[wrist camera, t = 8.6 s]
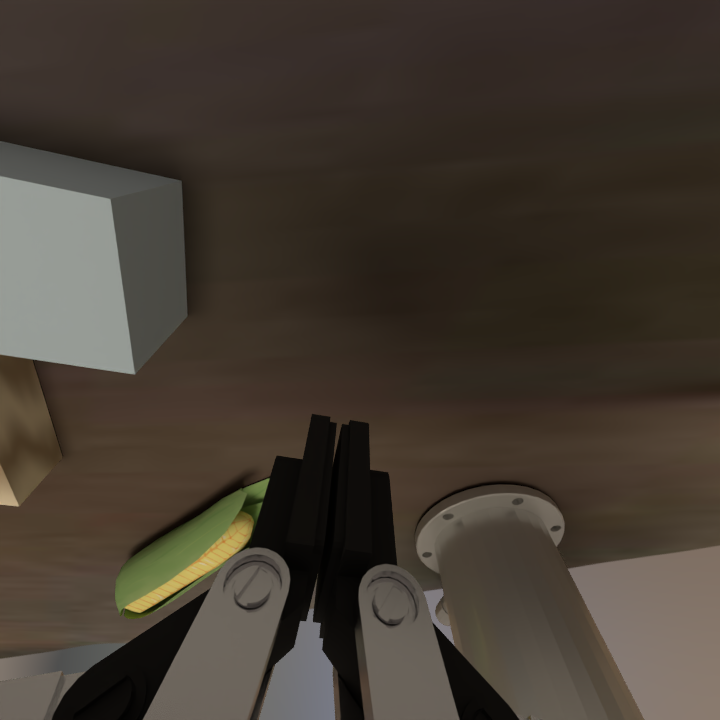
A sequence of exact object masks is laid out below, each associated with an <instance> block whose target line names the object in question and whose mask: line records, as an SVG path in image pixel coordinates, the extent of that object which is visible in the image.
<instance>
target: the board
mask: <svg viewBox="0 0 720 720" xmlns="http://www.w3.org/2000/svg"><path fill="white" fill-rule="evenodd" d="M62 458H63V456H62V453H61V450H60V447H59V443H58V440H57V437H56V434H55V431H54V427H53V424H52V421H51V418H50V415H49V411H48V408H47V405H46V402H45V399H44V395H43V392H42V389H41V386H40V382H39V379H38V376H37V373H36V370H35V366H34V363H33V360H32V359H27V358H20V357H14V356H7V355H0V504H1V505H11V506H20V505H21V504H22V503H23V501H24V500H25V499H26V498H27V497H28V496H29V495H30V494H31V493H32V491H33V490H34V489H35V488H36V487H37V486H38V485H39V484H40V482H41V481H42V480H43V479H44V478H45V477H46V476H47V475H48V473H49V472H50V471H51V470H52V469H53V468H54V467H55V466H56V464H57V463H58V462H59V461H60V460H61V459H62Z"/></svg>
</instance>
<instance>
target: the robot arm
mask: <svg viewBox="0 0 720 720" xmlns="http://www.w3.org/2000/svg"><path fill="white" fill-rule="evenodd" d="M336 426H337V423H333V422H330V417H327V416H321V415H315V414H312V417H311V422H310V427H309V432H308V437H307V442H306V447H305V451H304V456H303V460H302V459H296V458H289V457H283V456H277V457H276V459H275V462H274V466H273V469H272V472H271V476H270V479H269V482H268V486H267V489H266V493H265V496H264V499H263V503H262V506H261V509H260V513H259V516H258V519H257V523H256V526H255V530H254V533H253V536H252V540H251V543H250V546H249V549H245V550H243V551H241V552H239V553H237V554H235V555H234V556H233V557H231V558H230V559H229V560H228V561H227V562H226V563H225V564H224V566H223V567H222V568H221V570H220V571H219V573H218V575H217V577H216V579H215V581H214V583H213V585H212V587H211V588H210V589H209V590H207V591H206V592H204V593H203V594H201V595H200V596H198V597H197V598H195V599H194V600H192V601H190V602H189V603H187V604H186V605H184V606H183V607H181V608H180V609H178V610H177V611H175V612H174V613H172V614H171V615H169V616H168V617H166V618H165V619H163V620H162V621H160V622H159V623H157V624H156V625H154V626H153V627H151V628H150V629H148V630H147V631H145V632H144V633H142V634H141V635H139V636H138V637H136V638H134V639H133V640H131V641H130V642H128V643H127V644H125V645H124V646H122V647H121V648H119V649H118V650H116V651H115V652H113V653H112V654H110V655H109V656H107V657H106V658H104V659H103V660H101V661H100V662H98V663H97V664H95V665H94V666H92V667H91V668H90V669H89V670H88V671H86V672H80V673H75V674H69V675H64V674H63V672H62V671H59V672H53V673H47V674H41V675H35V676H30V677H24V678H17V679H12V680H6V681H0V720H259V717H260V713H261V710H262V706H263V703H264V700H265V697H266V693H267V690H268V686H269V683H270V680H271V677H272V673H273V670H274V667H275V664H276V663H277V662H278V661H279V660H280V659H281V658H282V657H284V656H285V655H286V654H287V653H288V652H289V651H290V650H291V649H292V648H293V647H294V645H295V640H296V636H297V632H298V627H299V623H300V621H306V619H307V615H308V611H309V607H310V603H311V599H312V595H313V591H314V587H315V582H316V578H317V586H316V595H315V605H314V614H313V622H317V623H321V626H320V638H323V648H322V650H323V652H324V653H325V654H326V656H327V657H328V659H329V660H330V661H331V663H332V665H333V687H334V704H335V720H644V718H643V716H642V714H641V712H640V710H639V708H638V706H637V704H636V702H635V700H634V699H633V696H632V694H631V692H630V690H629V689H628V687H627V685H626V683H625V681H624V679H623V677H622V675H621V673H620V671H619V669H618V667H617V665H616V663H615V661H614V659H613V657H612V655H611V653H610V651H609V649H608V648H607V645H606V643H605V641H604V639H603V638H602V636H601V634H600V632H599V630H598V628H597V626H596V624H595V622H594V620H593V618H592V616H591V614H590V612H589V610H588V608H587V606H586V604H585V602H584V600H583V598H582V596H581V594H580V592H579V590H578V588H577V586H576V585H575V583H574V581H573V579H572V577H571V575H570V573H569V571H568V569H567V567H566V565H565V563H564V561H563V559H562V557H561V555H560V553H559V551H558V549H557V545H558V544H559V543H560V541H561V539H562V536H563V534H564V530H565V522H564V519H563V516H562V514H561V512H560V510H559V509H558V507H557V505H556V504H555V502H554V501H553V500H552V499H551V498H550V497H549V496H547V495H545V494H543V493H542V492H540V491H538V490H535V489H532V488H529V487H524V486H518V485H506V484H497V485H487V486H481V487H476V488H472V489H468V490H465V491H462V492H460V493H457V494H454V495H452V496H450V497H448V498H446V499H444V500H442V501H441V502H440V503H438V504H437V505H435V506H434V507H433V508H431V509H430V510H429V511H428V512H427V513H426V514H425V515H424V516H423V518H422V519H421V521H420V522H419V524H418V526H417V529H416V532H415V544H416V549H417V554H418V556H419V558H420V560H421V561H422V562H423V563H424V564H425V565H426V566H427V567H428V568H430V569H431V570H433V571H435V572H436V573H439V574H440V578H441V583H442V587H443V592H444V596H443V597H442V599H441V600H440V601H439V603H438V605H437V606H436V610H435V613H436V617H437V618H438V620H439V622H441V623H442V624H443V625H446V626H450V625H451V630H452V634H453V640H454V644H455V646H454V645H453V644H452V643H451V642H450V641H449V640H448V639H447V638H446V636H445V635H444V634H443V633H442V632H441V631H440V630H439V629H438V628H437V627H436V626H435V625H434V624H433V622H432V620H431V616H430V612H429V609H428V605H427V602H426V598H425V595H424V593H423V590H422V588H421V586H420V584H419V583H418V582H417V580H416V579H415V578H414V577H413V576H412V575H411V574H410V573H409V572H407V571H406V570H405V569H403V568H400V567H398V566H397V559H396V548H395V536H394V525H393V513H392V502H391V490H390V479H389V474H388V472H381V471H375V470H370V451H369V424H368V423H364V422H358V421H352V420H350V422H349V425H345V424H342V427H341V431H340V436H339V440H338V444H337V449H336V453H335V458H334V462H333V456H334V446H335V436H336ZM332 466H333V467H332ZM317 574H318V577H317Z"/></svg>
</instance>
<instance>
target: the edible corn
mask: <svg viewBox="0 0 720 720" xmlns="http://www.w3.org/2000/svg"><path fill="white" fill-rule="evenodd" d="M269 479H270V478H268V479H266V480H263V481H261V482H258V483H256V484H253V485H251V486H248V487H246V488H244V489H242V488H240V489H239V490H237V491H236V492H234V493H232V494H230V495H228V496H226V497H224V498H222V499H221V500H220V501H218V502H217V503H215V504H214V505H213V506H211V507H210V508H209V509H207V510H206V511H204V512H203V513H202V514H200V515H198V516H197V517H195V518H193V519H191V520H189V521H188V522H186V523H184V524H182V525H181V526H179V527H177V528H175V529H174V530H172V531H170V532H169V533H167V534H165V535H164V536H162V537H160V538H158V539H157V540H155V541H154V542H152V543H151V544H150V545H148V546H147V547H145V548H144V549H142V550H141V551H140V552H139V553H137V554H136V555H134V556H133V557H132V558H130V559H129V560H128V561H127V562H126V563H125V564H124V565H123V566H122V568H121V570H120V572H119V575H118V577H117V579H116V588H115V601H116V604H117V607H118V610H119V614H120V616H121V615H122V613H123V609H124V608H125V613H124V616H125V617H126V618H129V619H135V618H141V617H144V616H146V615H149V614H151V613H153V612H155V611H156V610H158V609H160V608H162V607H164V606H165V605H167V604H169V603H170V602H172V601H173V600H175V599H176V598H178V597H179V596H181V595H182V594H184V593H185V592H186V591H188V590H189V589H191V588H192V587H193V586H195V585H196V584H198V583H199V582H201V581H202V580H204V579H205V578H206V577H208V576H209V575H211V574H212V573H214V572H215V571H217V570H218V569H220V568H221V567H223V566H224V564H225V563H226V562H227V561H228V560H229V559H230V558H231V557H233V556H234V555H235V554H237V553H239V552H241V551H243V550H245V549H249V546H250V543H251V540H252V536H253V533H254V530H255V526H256V523H257V519H258V516H259V513H260V509H261V506H262V503H263V499H264V496H265V493H266V489H267V486H268V482H269Z"/></svg>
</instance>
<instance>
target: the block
mask: <svg viewBox="0 0 720 720" xmlns="http://www.w3.org/2000/svg"><path fill="white" fill-rule="evenodd" d="M187 316H188V314H187V291H186V268H185V245H184V222H183V199H182V181H180V180H176V179H171V178H167V177H162V176H157V175H153V174H148V173H144V172H139V171H135V170H130V169H125V168H121V167H116V166H112V165H107V164H103V163H98V162H94V161H89V160H84V159H80V158H75V157H71V156H66V155H62V154H57V153H52V152H48V151H43V150H39V149H34V148H30V147H25V146H21V145H16V144H11V143H7V142H2V141H0V355H7V356H14V357H20V358H27V359H34V360H41V361H47V362H54V363H61V364H68V365H75V366H81V367H88V368H95V369H102V370H108V371H115V372H122V373H129V374H136V373H137V372H138V371H139V369H140V368H141V367H142V366H143V365H144V364H145V363H146V362H147V361H148V359H149V358H150V357H151V356H152V355H153V354H154V353H155V352H156V351H157V349H158V348H159V347H160V346H161V345H162V344H163V343H164V342H165V341H166V339H167V338H168V337H169V336H170V335H171V334H172V333H173V332H174V331H175V330H176V328H177V327H178V326H179V325H180V324H181V323H182V322H183V321H184V320H185V318H186V317H187Z"/></svg>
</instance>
